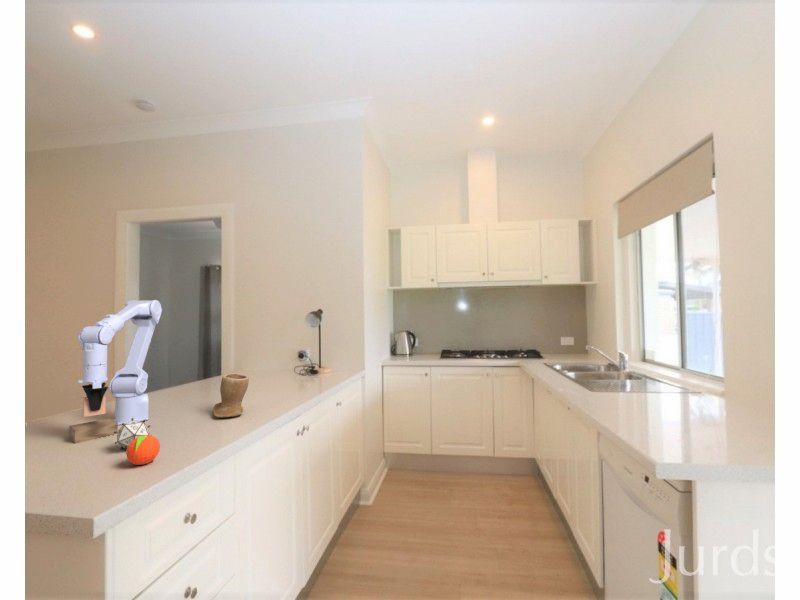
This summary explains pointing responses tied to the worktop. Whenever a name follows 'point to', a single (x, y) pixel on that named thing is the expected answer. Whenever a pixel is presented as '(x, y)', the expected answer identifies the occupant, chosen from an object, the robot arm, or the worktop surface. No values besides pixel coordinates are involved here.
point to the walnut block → (92, 430)
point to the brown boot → (231, 395)
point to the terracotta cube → (90, 413)
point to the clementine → (143, 449)
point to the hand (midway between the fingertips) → (94, 408)
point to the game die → (131, 432)
